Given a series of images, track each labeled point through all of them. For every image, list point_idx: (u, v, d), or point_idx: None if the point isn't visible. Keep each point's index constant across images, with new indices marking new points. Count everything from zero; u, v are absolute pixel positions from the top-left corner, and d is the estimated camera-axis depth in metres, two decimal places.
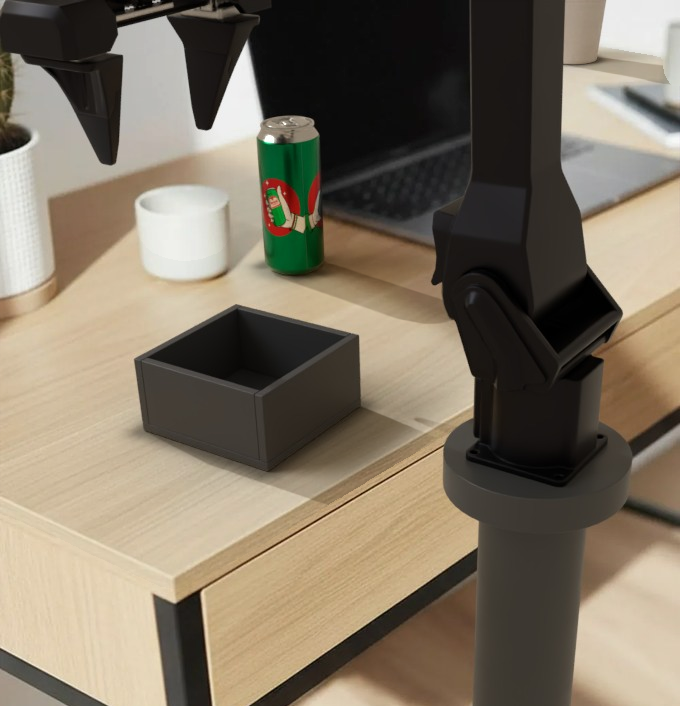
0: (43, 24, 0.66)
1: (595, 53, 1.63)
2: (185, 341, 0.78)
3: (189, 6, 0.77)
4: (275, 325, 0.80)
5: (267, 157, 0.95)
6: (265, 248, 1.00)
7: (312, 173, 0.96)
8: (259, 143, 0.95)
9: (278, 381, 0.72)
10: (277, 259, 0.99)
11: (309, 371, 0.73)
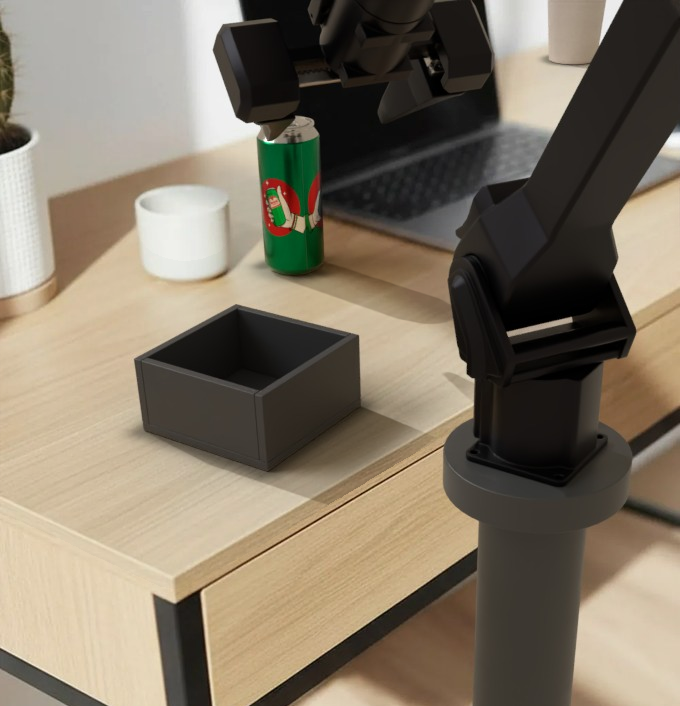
0: (235, 84, 0.77)
1: None
2: (185, 341, 0.78)
3: None
4: (275, 325, 0.80)
5: (267, 157, 0.95)
6: (265, 248, 1.00)
7: (312, 173, 0.96)
8: (259, 143, 0.95)
9: (278, 381, 0.72)
10: (277, 259, 0.99)
11: (309, 371, 0.73)
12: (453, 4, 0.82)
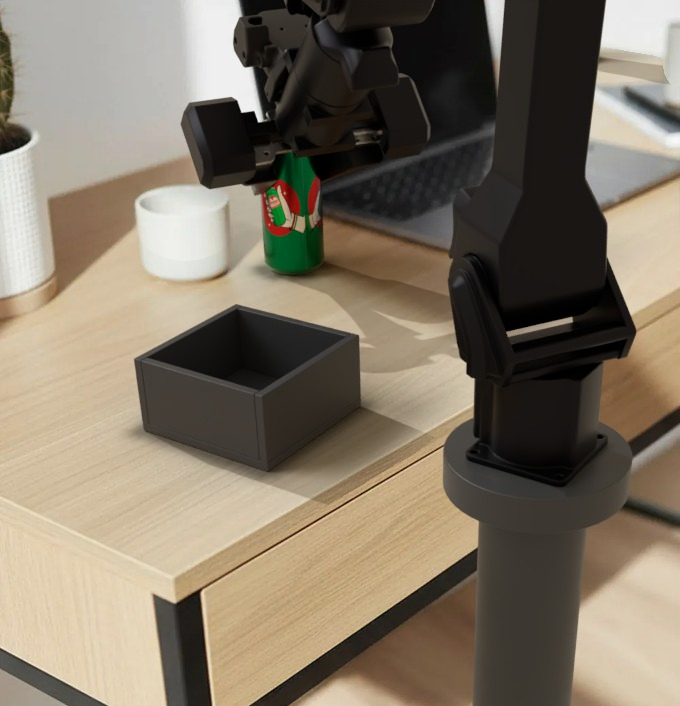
0: (199, 156, 0.88)
1: None
2: (185, 341, 0.78)
3: (353, 128, 0.93)
4: (275, 325, 0.80)
5: None
6: (265, 248, 1.00)
7: (312, 173, 0.96)
8: None
9: (278, 381, 0.72)
10: (276, 259, 0.99)
11: (309, 371, 0.73)
12: None
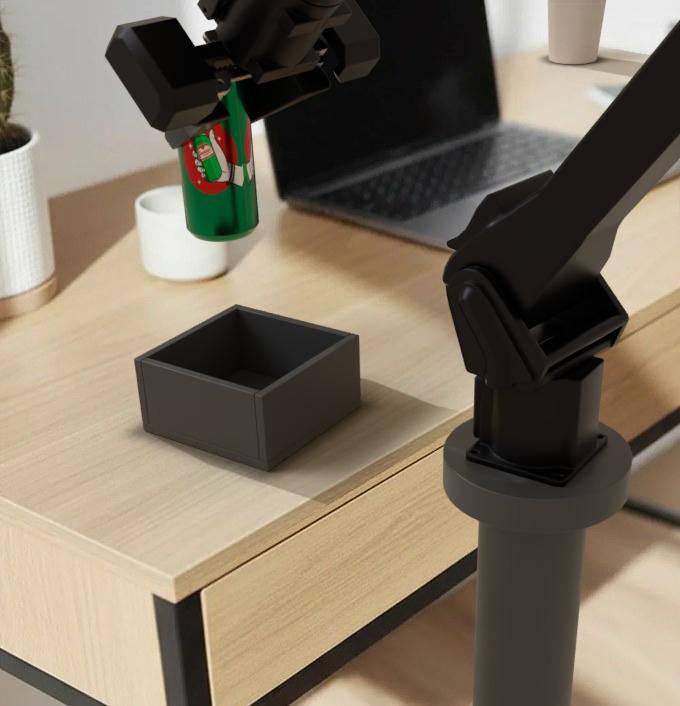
0: (150, 90, 0.68)
1: (595, 53, 1.63)
2: (185, 341, 0.78)
3: None
4: (275, 325, 0.80)
5: None
6: (192, 213, 0.81)
7: (246, 111, 0.79)
8: None
9: (278, 381, 0.72)
10: (212, 223, 0.81)
11: (309, 371, 0.73)
12: None
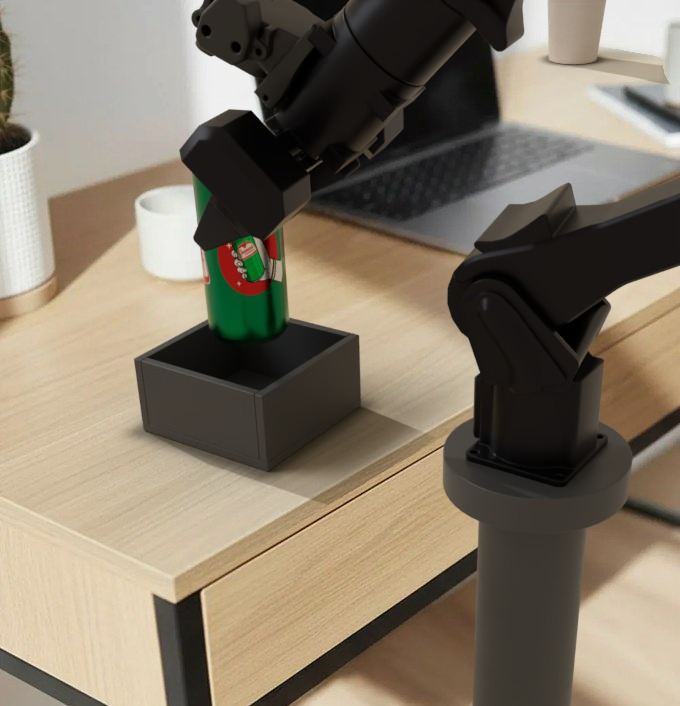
0: (255, 195, 0.60)
1: (595, 53, 1.63)
2: (185, 341, 0.78)
3: None
4: None
5: None
6: (227, 318, 0.73)
7: None
8: None
9: (278, 381, 0.72)
10: (253, 326, 0.73)
11: (309, 371, 0.73)
12: None
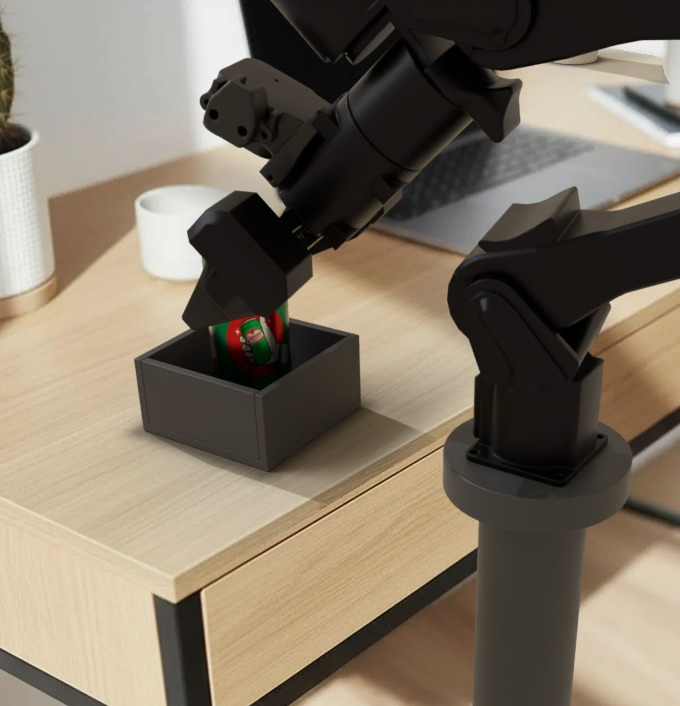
0: (259, 277, 0.62)
1: (595, 53, 1.63)
2: (185, 341, 0.78)
3: None
4: None
5: None
6: None
7: None
8: None
9: (278, 381, 0.72)
10: None
11: (309, 371, 0.73)
12: None
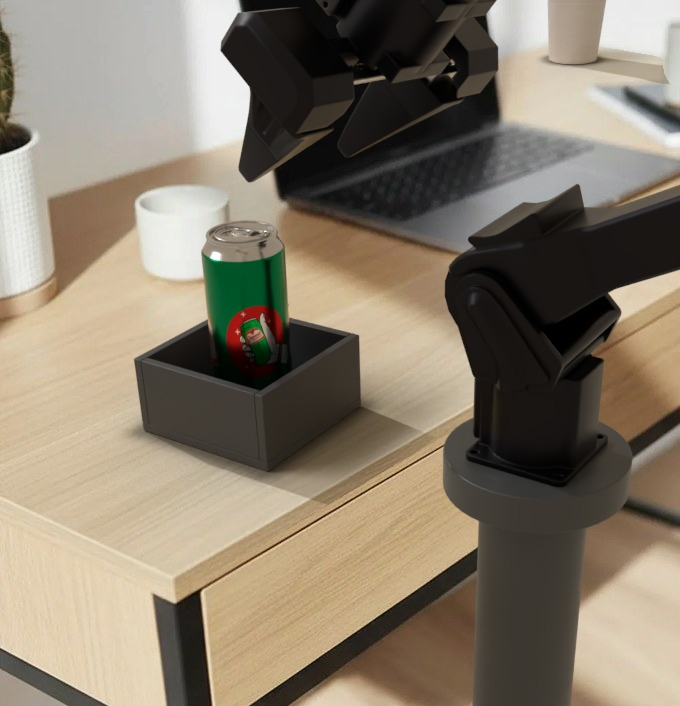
0: (284, 81, 0.58)
1: (595, 53, 1.63)
2: (185, 341, 0.78)
3: None
4: None
5: (244, 281, 0.71)
6: None
7: None
8: (226, 267, 0.71)
9: (278, 381, 0.72)
10: None
11: (309, 371, 0.73)
12: None
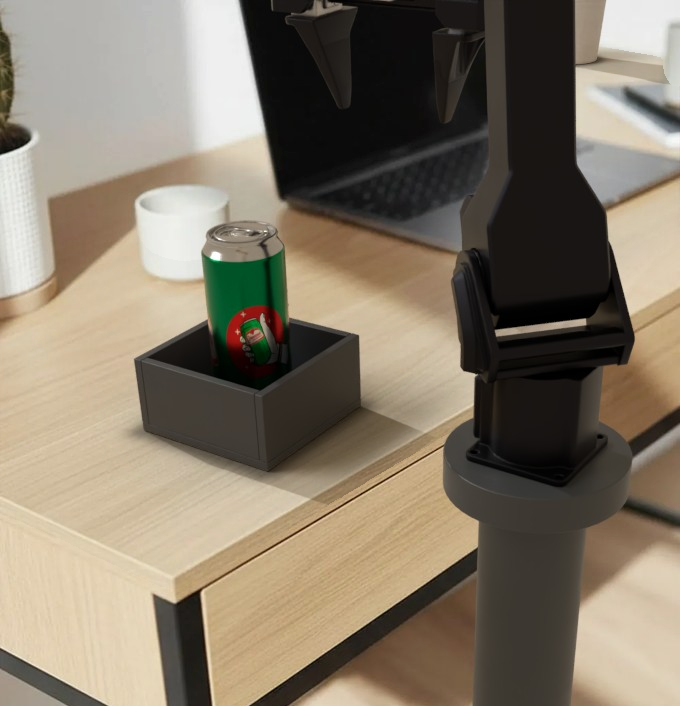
0: None
1: (595, 53, 1.63)
2: (185, 341, 0.78)
3: (435, 8, 0.86)
4: None
5: (244, 281, 0.71)
6: None
7: None
8: (226, 267, 0.71)
9: (278, 381, 0.72)
10: None
11: (309, 371, 0.73)
12: None
